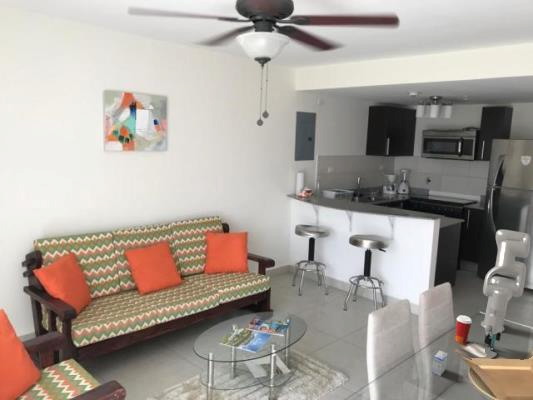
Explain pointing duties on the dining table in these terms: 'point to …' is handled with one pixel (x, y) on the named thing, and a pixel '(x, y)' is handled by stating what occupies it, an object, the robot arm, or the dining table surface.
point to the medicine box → (439, 363)
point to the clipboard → (473, 350)
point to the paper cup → (462, 329)
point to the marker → (492, 341)
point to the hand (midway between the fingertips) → (491, 342)
